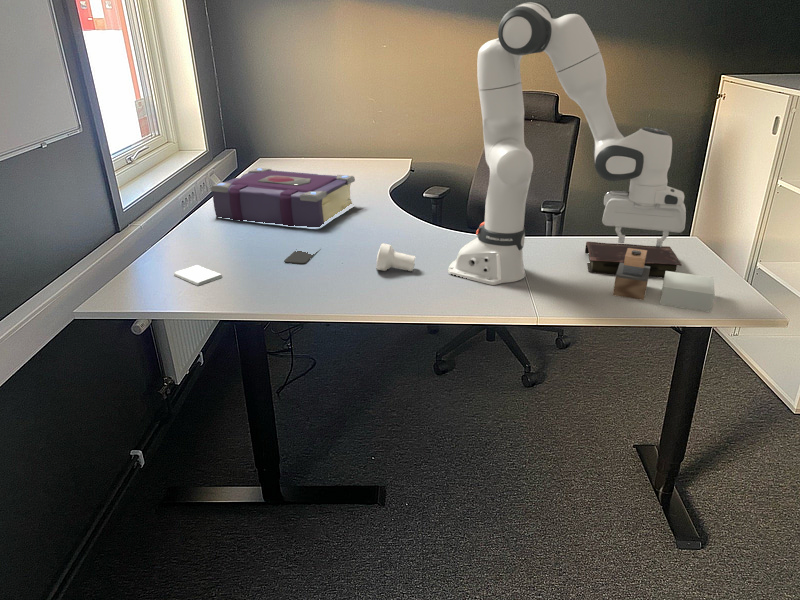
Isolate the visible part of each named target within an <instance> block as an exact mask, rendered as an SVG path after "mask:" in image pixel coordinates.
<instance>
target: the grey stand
mask: <svg viewBox="0 0 800 600" xmlns="http://www.w3.org/2000/svg"><path fill="white" fill-rule="evenodd" d="M662 282H663V283H662V287H661V288H662V289H661V293H660V301H659V302H660V303H659V304H660V305H663V306H667V307H675V308H680V309H681V308H682V309H686V310H693V311H700V312H705V313H706V312H708V313H711V312H712V308H713V303H714V299H715V291H716V290H715V277H714V276H713V277H712V276H708V275H707V276H706V275H699V274H691V273H684V272H677V271H676V272H671V271H665V276H664V278H663V281H662Z"/></svg>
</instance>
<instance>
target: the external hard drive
mask: <svg viewBox="0 0 800 600" xmlns="http://www.w3.org/2000/svg"><path fill="white" fill-rule="evenodd" d="M173 276H175V277H177V278H179V279H182V280H184V281H186V282H189V283H191V284H193V285H195V286H197V287H199V286H201V285H205V284H208V283H210V282H213V281H216V280H218V279H222V278H223V274H221V273H219V272H217V271H214V270H211V269H209V268H206V267H203V266H201V265H199V264H195V265H192V266H190V267H186V268H183V269H180V270H177V271H175V272H173Z"/></svg>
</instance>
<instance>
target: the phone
mask: <svg viewBox="0 0 800 600" xmlns="http://www.w3.org/2000/svg"><path fill="white" fill-rule="evenodd" d="M313 255H314V254H313ZM313 255H311V254H308V252H307V253H306V252H302V251H297V252H296V251H295V250H294V251H293V252H292V253H291V254H290V255H289V256H287V257H286V258H285V259H284V261H283V263H284V262H285V263H284V264H289V263H292V264H293V265H307V262H308V261H309V260H310V258H311V257H312V256H313ZM310 261H311V260H310ZM310 261H309V262H310ZM309 262H308V263H309ZM292 264H291V265H292Z"/></svg>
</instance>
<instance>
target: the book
mask: <svg viewBox="0 0 800 600" xmlns="http://www.w3.org/2000/svg"><path fill="white" fill-rule="evenodd" d="M355 181H356V179H355V176H354V175H348V174H347V175H345V174H336V175H333V174H318V173H307V172H306V173H305V172H298V171H296V172H295V171H284V170H273V169H272V168H265V167H256V168H254V169H251V170H249V171H247V173H245V174H242V175H241V177H234V178H232V179H229V180H226V181H224V182H223V181H221V182H217V183H215V184H211V186H210V191H211V192H212V201H213V208H214V212H215V213H214V214H215V218H216V217H222V218H230V219H233V220H232V221H234V220H240V221H243V220H247V221H255V222H263V223H264V222H265V223H275V224H283V225H288V226H294V225H295V226H307V227H320V226H321V225H322V224H324V222H325V221H327V220H328V219H329V218H331V217H333V216H334V215H335V214H337V213H338V212H340V211H342V210H343V209H345V208H346V207H347V206H349V205H350V204H353V201H352V199H351V189H350V188H351V186H352V185H351V184H353V183H354V182H355ZM240 221H239V222H240Z"/></svg>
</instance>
